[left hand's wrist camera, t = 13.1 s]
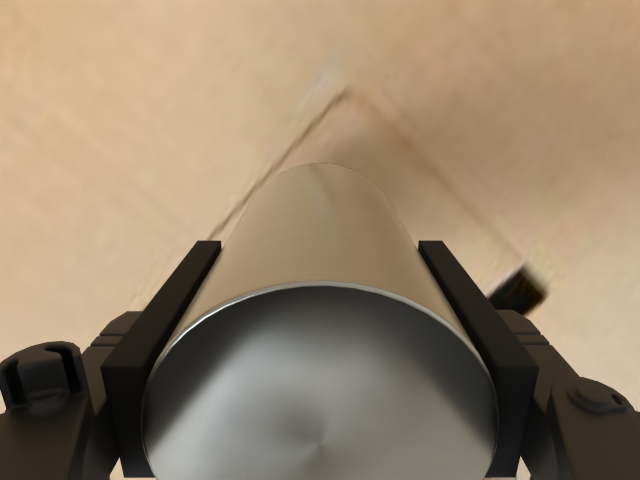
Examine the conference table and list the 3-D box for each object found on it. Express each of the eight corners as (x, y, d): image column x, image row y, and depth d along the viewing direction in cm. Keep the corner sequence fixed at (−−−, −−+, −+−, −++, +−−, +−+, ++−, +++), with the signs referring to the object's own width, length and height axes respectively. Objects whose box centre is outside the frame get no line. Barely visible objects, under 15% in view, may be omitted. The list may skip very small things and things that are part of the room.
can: (208, 237, 17) (63, 436, 7) (324, 126, 16) (331, 196, 6) (316, 336, 19) (312, 605, 9) (431, 245, 17) (571, 450, 8)
